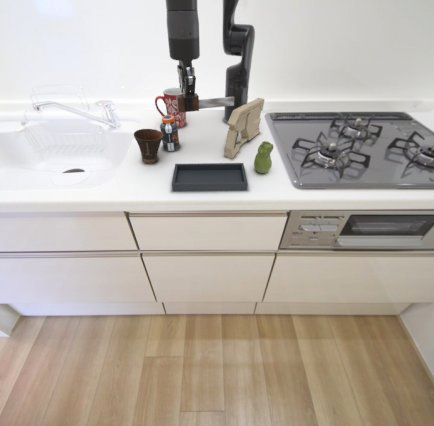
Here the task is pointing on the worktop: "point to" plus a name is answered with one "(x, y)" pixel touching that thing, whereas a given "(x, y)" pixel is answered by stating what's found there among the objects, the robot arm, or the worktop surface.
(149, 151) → the cup
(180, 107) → the knife
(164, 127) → the pill bottle
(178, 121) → the mug
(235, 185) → the dark grey tray
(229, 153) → the gun
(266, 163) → the pear
